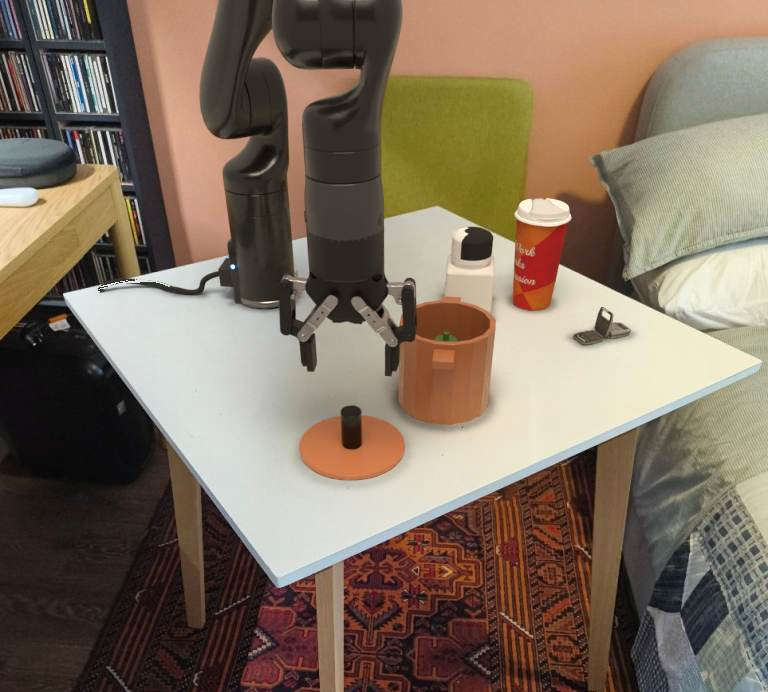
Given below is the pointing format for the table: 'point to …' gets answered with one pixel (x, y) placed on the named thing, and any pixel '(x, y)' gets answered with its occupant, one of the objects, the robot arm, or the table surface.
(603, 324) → the strap clip
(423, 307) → the pot
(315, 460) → the lid
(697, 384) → the table surface
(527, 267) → the coffee cup
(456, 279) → the medicine bottle
